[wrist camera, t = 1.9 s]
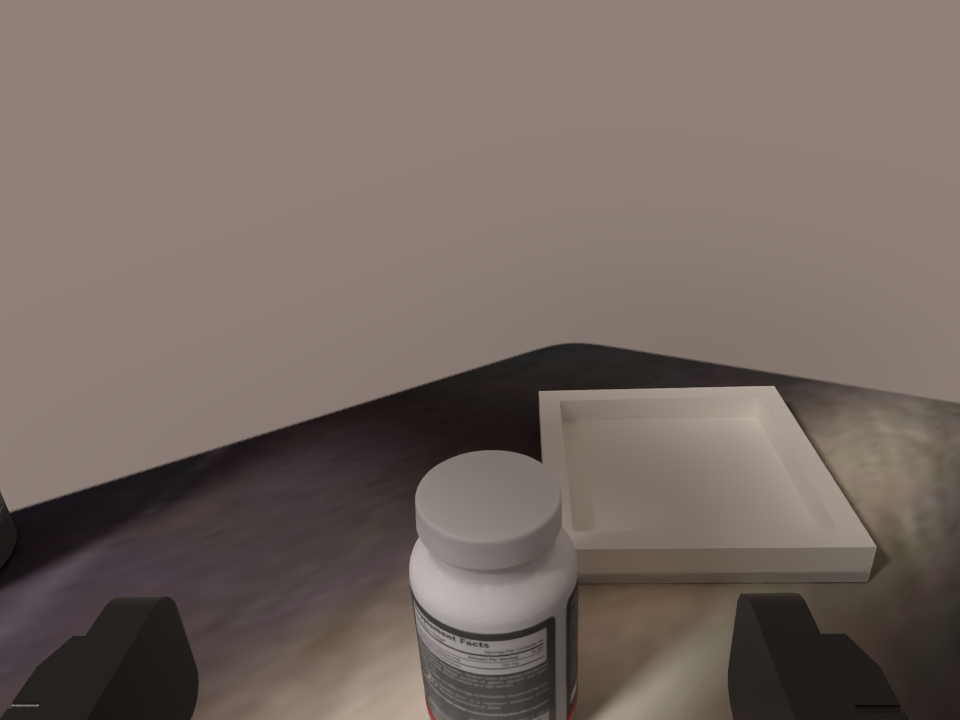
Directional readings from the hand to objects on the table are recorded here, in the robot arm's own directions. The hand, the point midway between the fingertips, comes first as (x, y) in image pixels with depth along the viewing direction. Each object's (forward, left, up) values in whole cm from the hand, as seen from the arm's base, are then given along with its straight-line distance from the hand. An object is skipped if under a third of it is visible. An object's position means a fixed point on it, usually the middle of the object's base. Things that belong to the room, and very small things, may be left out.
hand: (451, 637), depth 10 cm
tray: (+9, +24, -16) cm, 30 cm away
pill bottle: (0, +11, -16) cm, 20 cm away
